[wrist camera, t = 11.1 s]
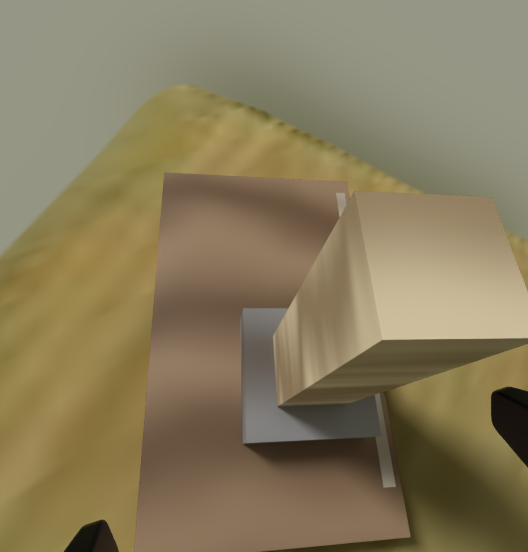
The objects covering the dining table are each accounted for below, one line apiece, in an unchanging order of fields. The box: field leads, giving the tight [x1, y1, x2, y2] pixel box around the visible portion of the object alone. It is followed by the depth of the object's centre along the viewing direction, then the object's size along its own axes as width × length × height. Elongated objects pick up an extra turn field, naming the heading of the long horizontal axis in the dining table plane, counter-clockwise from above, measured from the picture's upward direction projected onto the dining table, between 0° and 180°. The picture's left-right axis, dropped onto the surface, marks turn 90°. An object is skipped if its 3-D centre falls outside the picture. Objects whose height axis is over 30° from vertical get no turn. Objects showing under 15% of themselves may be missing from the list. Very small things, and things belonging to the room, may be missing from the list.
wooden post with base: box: [240, 191, 528, 444], centre depth 13 cm, size 6×6×13 cm
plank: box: [134, 173, 411, 552], centre depth 21 cm, size 20×12×2 cm, turn 3°
